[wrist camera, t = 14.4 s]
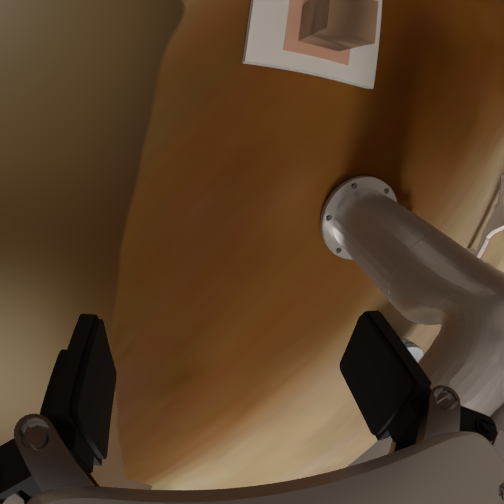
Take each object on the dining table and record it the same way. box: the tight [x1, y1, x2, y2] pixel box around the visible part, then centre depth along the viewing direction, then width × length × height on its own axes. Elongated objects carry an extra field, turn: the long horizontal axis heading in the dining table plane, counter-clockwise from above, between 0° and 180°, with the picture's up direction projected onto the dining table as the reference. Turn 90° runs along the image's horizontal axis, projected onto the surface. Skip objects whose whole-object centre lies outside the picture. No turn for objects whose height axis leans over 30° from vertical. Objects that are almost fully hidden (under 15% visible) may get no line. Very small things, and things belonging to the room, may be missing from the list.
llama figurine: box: [466, 174, 504, 258], centre depth 45 cm, size 2×11×18 cm
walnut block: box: [298, 0, 378, 52], centre depth 23 cm, size 5×5×8 cm
